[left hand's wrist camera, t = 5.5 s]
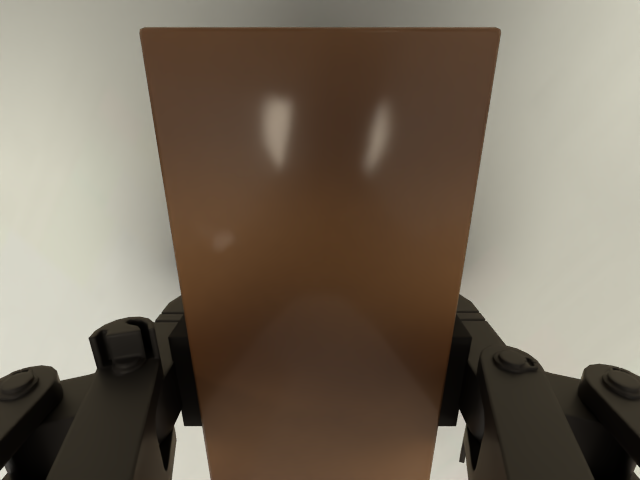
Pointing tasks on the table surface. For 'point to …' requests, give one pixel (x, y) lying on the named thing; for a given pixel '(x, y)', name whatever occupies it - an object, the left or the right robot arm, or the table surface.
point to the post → (320, 234)
